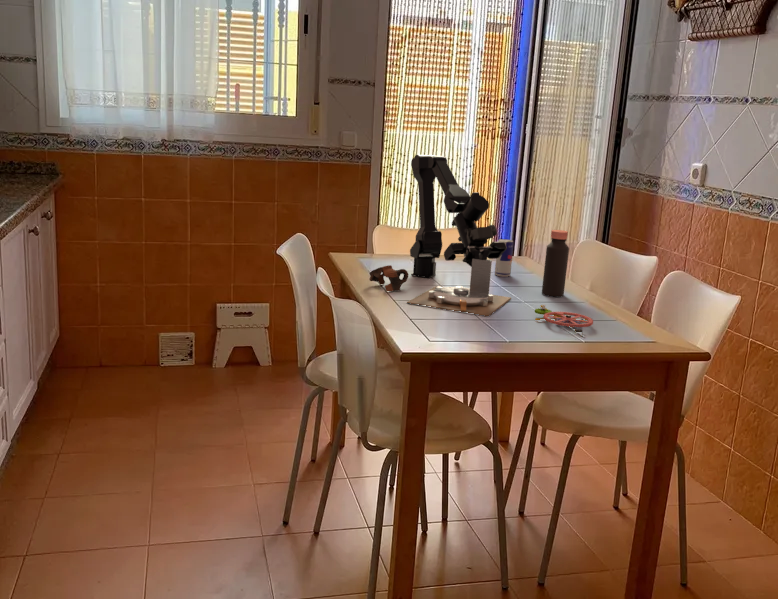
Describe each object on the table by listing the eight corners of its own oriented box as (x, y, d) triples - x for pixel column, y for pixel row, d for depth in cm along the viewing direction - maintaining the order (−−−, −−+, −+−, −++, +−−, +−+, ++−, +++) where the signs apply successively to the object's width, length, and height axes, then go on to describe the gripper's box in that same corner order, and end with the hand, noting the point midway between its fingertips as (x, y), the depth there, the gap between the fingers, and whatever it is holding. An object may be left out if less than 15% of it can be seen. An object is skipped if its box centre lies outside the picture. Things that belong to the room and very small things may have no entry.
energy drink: (511, 277, 270) (514, 242, 267) (495, 276, 270) (498, 241, 267) (509, 274, 275) (512, 239, 272) (493, 273, 275) (496, 238, 272)
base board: (406, 303, 227) (407, 293, 227) (435, 287, 249) (436, 278, 248) (488, 316, 218) (489, 306, 218) (510, 299, 240) (511, 289, 239)
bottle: (543, 296, 246) (550, 232, 241) (539, 291, 252) (546, 228, 247) (565, 298, 245) (573, 233, 241) (561, 292, 252) (568, 230, 247)
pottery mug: (378, 295, 237) (370, 269, 238) (372, 301, 246) (363, 276, 247) (415, 284, 241) (406, 258, 242) (407, 290, 250) (399, 266, 251)
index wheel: (418, 292, 237) (420, 252, 234) (470, 289, 245) (473, 250, 242) (449, 308, 221) (453, 265, 218) (504, 304, 230) (508, 262, 227)
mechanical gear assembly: (557, 338, 203) (611, 340, 206) (559, 323, 202) (613, 325, 205) (515, 307, 231) (564, 310, 235) (517, 294, 230) (566, 296, 234)
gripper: (452, 215, 227) (469, 262, 221) (507, 214, 235) (524, 260, 229) (436, 236, 236) (451, 282, 230) (489, 235, 244) (505, 279, 238)
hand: (484, 275), depth 231 cm, fingers closed
